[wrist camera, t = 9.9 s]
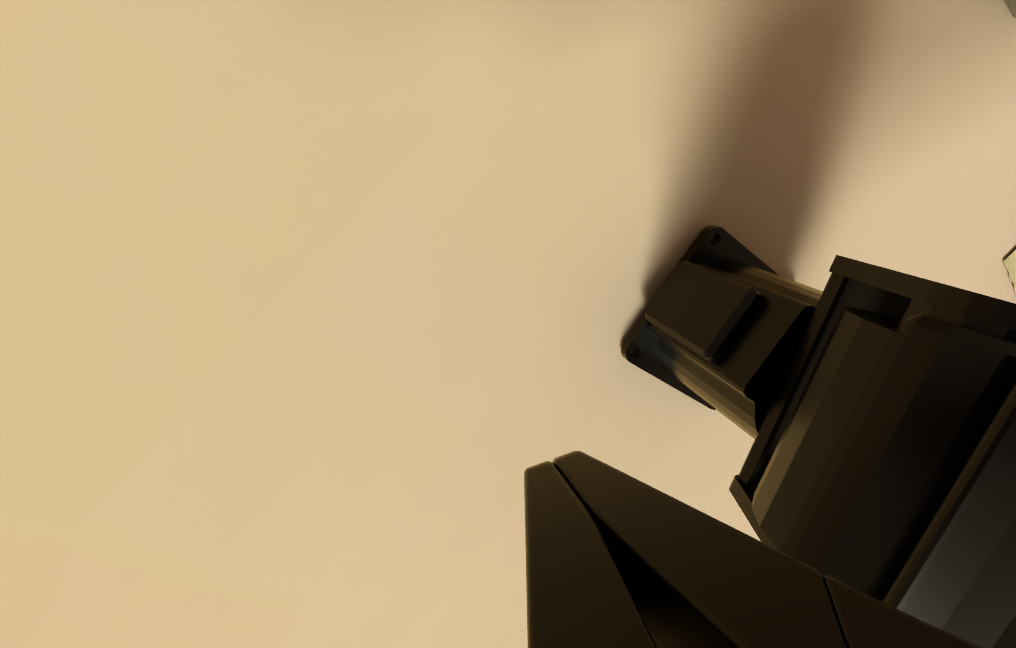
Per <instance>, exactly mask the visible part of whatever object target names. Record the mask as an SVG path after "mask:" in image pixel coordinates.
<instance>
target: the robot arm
mask: <svg viewBox="0 0 1016 648" xmlns="http://www.w3.org/2000/svg"><path fill="white" fill-rule="evenodd" d="M713 234H714V239H713V241H712V242H711V243H710V238H711V236H712V235H713ZM829 271H830V272H832V274H831V276H830V278H829V280H828V282H827V285H826V287H825V289H824V291H820V290H817V289H814V288H811V287H809V286H806V285H803V284H800V283H798V282H795V281H792V280H789V279H786V278H784V277H781V276H779V275H778V274H777V273H775V272H774V271H773V270H772V269H771V268H769V267H768V266H767V265H766V264H765V263H763V262H762V261H761V260H760V259H759V258H757V257H756V256H755V255H754V254H753V253H751V252H750V251H749V250H748V249H747V248H745V247H744V246H743V245H742V244H741V243H739V242H738V241H737V240H736V239H735V238H733V237H732V236H731V235H730V234H729V233H727V232H726V231H725V230H724V229H722V228H720V227H717V226H714V225H709V226H707V227H705V228H704V229H703V230H702V231H701V232H700V234H699V235H698V237H697V238H696V240H695V241H694V242H693V244H692V245H691V247H690V248H689V250H688V251H687V253H686V254H685V255H684V257H683V258H682V260H681V261H680V263H679V264H678V265H677V267H676V268H675V270H674V271H673V273H672V274H671V275H670V277H669V278H668V280H667V281H666V283H665V284H664V286H663V287H662V288H661V290H660V291H659V293H658V294H657V296H656V297H655V299H654V300H653V301H652V303H651V304H650V306H649V307H648V309H647V310H646V312H645V313H644V315H643V316H642V318H641V319H640V320H639V322H638V323H637V325H636V326H635V328H634V329H633V331H632V332H631V333H630V335H629V336H628V338H627V339H626V341H625V342H624V343H623V346H622V348H621V353H622V356H623V357H624V358H625V359H626V360H628V361H629V362H630V363H632V364H634V365H635V366H637V367H639V368H641V369H642V370H644V371H646V372H648V373H649V374H651V375H653V376H655V377H656V378H658V379H660V380H662V381H663V382H665V383H667V384H669V385H670V386H672V387H674V388H675V389H677V390H679V391H681V392H682V393H684V394H686V395H688V396H689V397H691V398H693V399H695V400H696V401H698V402H700V403H702V404H703V405H705V406H707V407H708V408H710V409H713V410H716V409H717V410H718V411H719V412H720V413H722V414H723V415H724V416H726V417H727V418H728V419H730V420H731V421H732V422H733V423H735V424H736V425H737V426H739V427H740V428H741V429H742V430H744V431H745V432H746V433H748V434H749V435H750V436H752V437H753V438H754V439H755V441H754V443H753V445H752V447H751V449H750V451H749V454H748V456H747V458H746V460H745V462H744V464H743V467H742V469H741V471H740V473H739V475H735V477H734V479H733V481H732V483H731V486H730V488H729V490H730V492H731V493H732V495H733V497H734V498H735V500H736V502H737V503H738V505H739V506H740V508H741V510H742V511H743V513H744V514H745V516H746V518H747V519H748V521H749V523H750V524H751V526H752V527H753V529H754V531H755V532H756V534H757V535H758V537H759V539H760V540H761V542H760V541H758V540H756V539H754V538H752V537H751V536H749V535H747V534H745V533H743V532H741V531H739V530H737V529H735V528H733V527H731V526H729V525H727V524H725V523H723V522H721V521H719V520H717V519H715V518H713V517H711V516H709V515H707V514H705V513H703V512H701V511H699V510H697V509H695V508H693V507H691V506H689V505H687V504H685V503H683V502H681V501H679V500H677V499H675V498H673V497H671V496H669V495H667V494H665V493H663V492H661V491H659V490H657V489H655V488H653V487H651V486H649V485H647V484H645V483H643V482H641V481H639V480H637V479H635V478H633V477H631V476H629V475H627V474H625V473H623V472H621V471H619V470H617V469H615V468H613V467H611V466H609V465H607V464H605V463H603V462H601V461H599V460H597V459H595V458H593V457H591V456H589V455H587V454H585V453H583V452H581V451H573V452H570V453H568V454H565V455H562V456H559V457H557V458H555V459H554V460H553V462H549V461H546V462H543V463H540V464H538V465H535V466H532V467H529V468H527V469H526V470H525V472H524V491H525V537H526V583H527V629H528V648H1016V304H1014V303H1011V302H1007V301H1003V300H1000V299H996V298H992V297H989V296H985V295H982V294H978V293H974V292H971V291H967V290H963V289H960V288H956V287H952V286H949V285H945V284H941V283H938V282H934V281H930V280H927V279H923V278H919V277H916V276H912V275H908V274H905V273H901V272H897V271H894V270H890V269H886V268H883V267H879V266H875V265H872V264H868V263H864V262H860V261H857V260H853V259H849V258H846V257H842V256H838V255H836V257H835V259H834V261H833V263H832V266H831V268H830V270H829ZM635 347H637V349H636V351H635V352H634V353H632V354H631V351H632V349H634V348H635Z"/></svg>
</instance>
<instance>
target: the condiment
mask: <svg viewBox="0 0 1016 648" xmlns="http://www.w3.org/2000/svg"><path fill="white" fill-rule="evenodd" d="M1004 264H1005V267H1006V268H1007V270H1008V272H1009V278H1010V280H1011V281H1012V283H1013V284H1014V289H1015V292H1016V250H1015V251H1014V252H1013V253H1012V254H1011V255H1010V256H1009V257H1008V258H1007V259H1006V260H1005V261H1004Z"/></svg>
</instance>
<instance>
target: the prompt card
mask: <svg viewBox="0 0 1016 648" xmlns="http://www.w3.org/2000/svg"><path fill="white" fill-rule="evenodd" d="M1005 1H1006V3H1007V5H1008V7H1009V9H1010V11H1011V13H1012V15H1013V17H1014V18H1015V17H1016V0H1005Z"/></svg>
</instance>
